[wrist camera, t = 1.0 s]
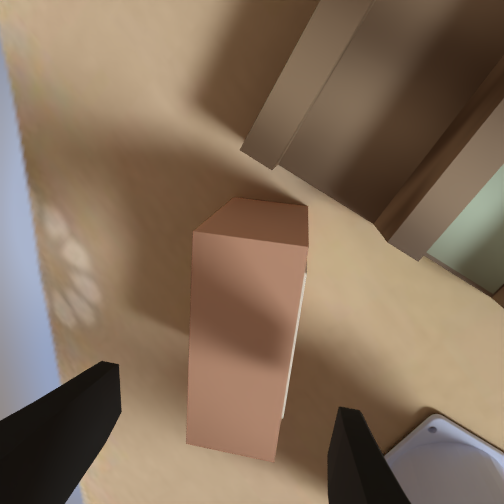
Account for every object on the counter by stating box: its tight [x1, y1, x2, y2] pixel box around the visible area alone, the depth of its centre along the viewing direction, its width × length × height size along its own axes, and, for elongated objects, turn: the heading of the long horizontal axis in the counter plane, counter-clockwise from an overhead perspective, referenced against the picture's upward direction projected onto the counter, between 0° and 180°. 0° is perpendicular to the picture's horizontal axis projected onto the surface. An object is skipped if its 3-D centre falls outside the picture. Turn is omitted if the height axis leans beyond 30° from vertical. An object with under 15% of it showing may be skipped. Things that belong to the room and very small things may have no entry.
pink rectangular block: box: [186, 197, 309, 462], centre depth 16 cm, size 4×10×7 cm, turn 175°
